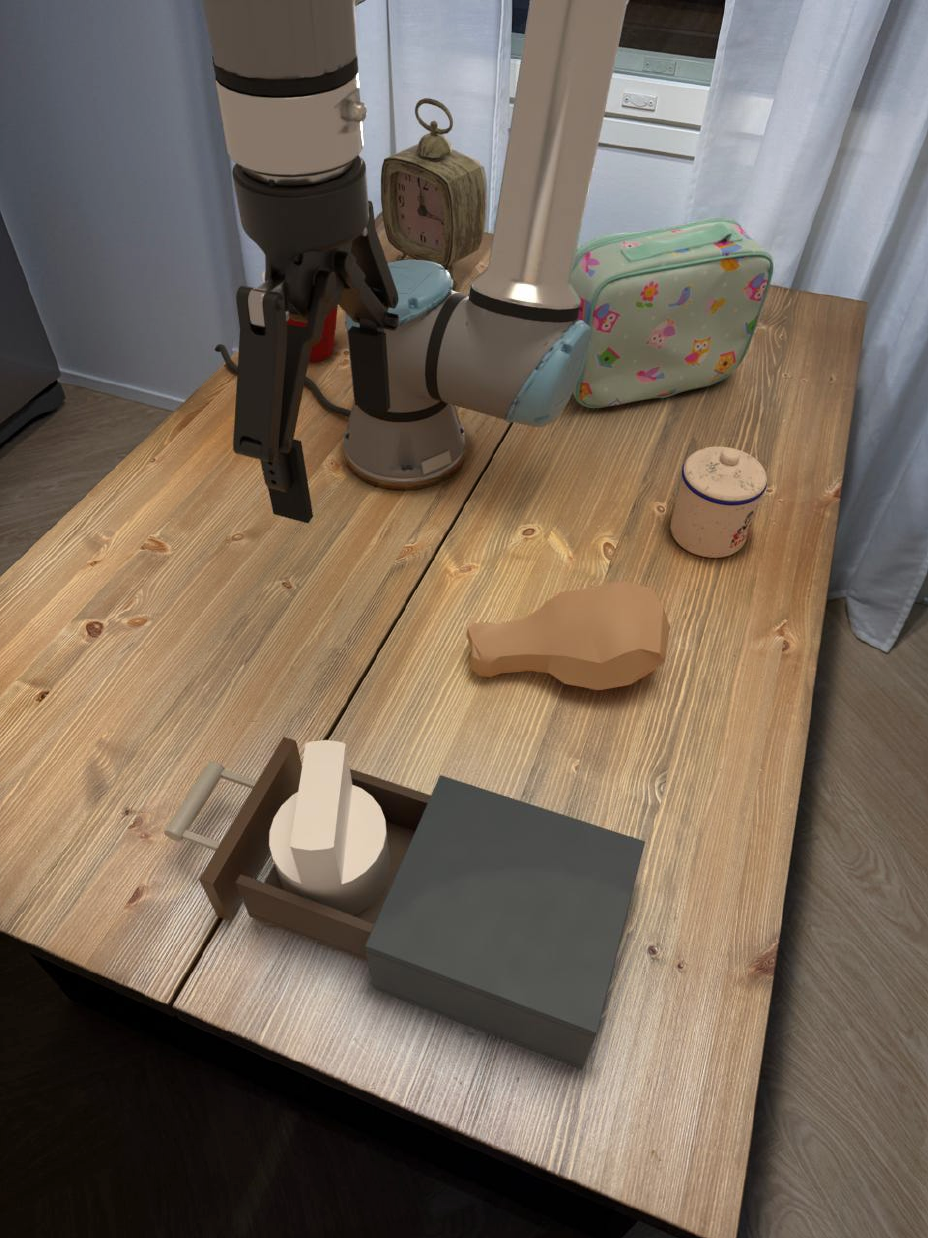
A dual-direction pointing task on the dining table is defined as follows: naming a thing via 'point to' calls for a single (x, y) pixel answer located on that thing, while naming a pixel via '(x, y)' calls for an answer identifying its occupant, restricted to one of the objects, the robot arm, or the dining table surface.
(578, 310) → the robot arm
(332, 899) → the cylinder with rectangular tab
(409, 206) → the tabletop clock
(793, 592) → the dining table surface
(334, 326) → the plastic cup
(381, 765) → the dining table surface
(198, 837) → the drawer
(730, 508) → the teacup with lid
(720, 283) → the lunch box
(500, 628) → the squash
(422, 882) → the cabinet
